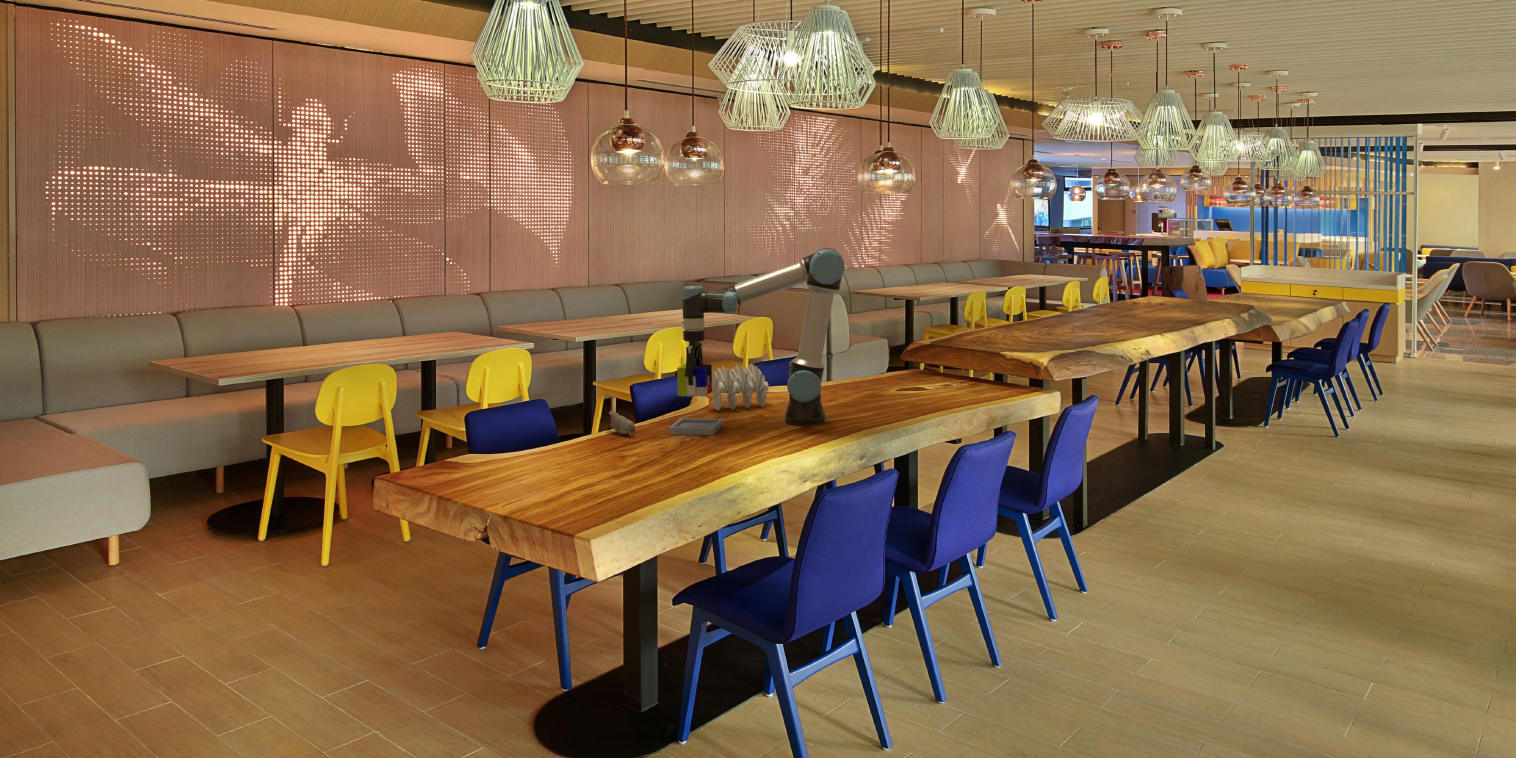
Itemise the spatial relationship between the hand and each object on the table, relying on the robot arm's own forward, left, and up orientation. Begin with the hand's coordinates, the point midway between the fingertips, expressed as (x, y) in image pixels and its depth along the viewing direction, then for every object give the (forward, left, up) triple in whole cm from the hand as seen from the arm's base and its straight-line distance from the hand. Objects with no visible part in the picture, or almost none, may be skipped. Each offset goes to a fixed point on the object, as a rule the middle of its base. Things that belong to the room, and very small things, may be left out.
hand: (695, 391), depth 368 cm
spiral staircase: (-7, -40, -14) cm, 43 cm away
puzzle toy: (0, 0, -1) cm, 1 cm away
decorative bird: (+25, +10, -14) cm, 30 cm away
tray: (0, 0, -14) cm, 14 cm away
